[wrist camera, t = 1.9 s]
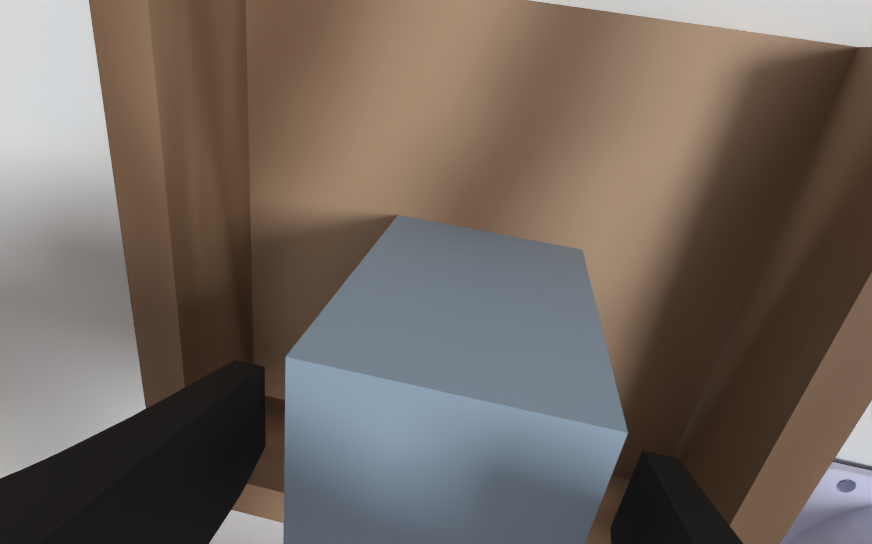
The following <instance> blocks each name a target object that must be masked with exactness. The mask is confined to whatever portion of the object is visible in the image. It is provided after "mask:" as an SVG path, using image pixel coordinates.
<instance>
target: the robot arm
mask: <svg viewBox="0 0 872 544" xmlns="http://www.w3.org/2000/svg"><path fill="white" fill-rule="evenodd" d="M265 446H266V428H265V367H264V366H260V365H255V364H251V363H246V362H242V361H237V360H235V361H233V362H231V363H229V364H227V365H225V366H223V367H221V368H219V369H217V370H215V371H214V372H212V373H210V374H208V375H206V376H205V377H203V378H201V379H199V380H197V381H196V382H194V383H192V384H190V385H188V386H187V387H185V388H183V389H181V390H179V391H178V392H176V393H174V394H172V395H170V396H169V397H167V398H165V399H163V400H161V401H159V402H158V403H156V404H154V405H152V406H150V407H148V408H146V409H145V410H143V411H141V412H139V413H137V414H135V415H134V416H132V417H130V418H128V419H126V420H124V421H122V422H120V423H118V424H116V425H114V426H112V427H110V428H108V429H106V430H104V431H102V432H100V433H98V434H96V435H94V436H92V437H90V438H88V439H86V440H84V441H82V442H80V443H78V444H76V445H74V446H72V447H70V448H68V449H66V450H64V451H62V452H60V453H58V454H55V455H53V456H51V457H49V458H47V459H45V460H42V461H40V462H38V463H36V464H33V465H31V466H29V467H27V468H24V469H22V470H20V471H18V472H15V473H13V474H10V475H8V476H6V477H3V478H1V479H0V544H209V542H210V541H211V539H212V538H213V536H214V535H215V533H216V532H217V530H218V529H219V527H220V526H221V524H222V523H223V521H224V520H225V518H226V517H227V515H228V514H229V512H230V511H231V509H232V508H233V506H234V505H235V503H236V502H237V500H238V498H239V497H240V495H241V494H242V492H243V490H244V488H245V486H246V484H247V482H248V480H249V478H250V477H251V475H252V473H253V471H254V469H255V467H256V465H257V463H258V461H259V459H260V457H261V455H262V453H263V451H264V448H265ZM845 479H846V480H845ZM842 480H845V481H843V482H840V481H842ZM610 531H611V544H743V542H742V541H741V540H740V539H739V537H738V536H737V535H736V533H735V532H734V531H733V530H732V528H731V527H730V526H729V524H728V523H727V522H726V520H725V519H724V518H723V517H722V515H721V514H720V513H719V511H718V510H717V509H716V507H715V506H714V505H713V504H712V502H711V501H710V500H709V498H708V497H707V496H706V494H705V493H704V492H703V490H702V489H701V488H700V486H699V485H698V484H697V483H696V481H695V480H694V479H693V477H692V476H691V475H690V473H689V472H688V471H687V470H686V468H685V467H684V466H683V465H682V463H681V462H680V461H679V460H678V458H675V457H670V456H666V455H661V454H657V453H652V452H648V451H643V450H642V453H641V455H640V458H639V460H638V462H637V465H636V467H635V470H634V472H633V474H632V477H631V479H630V482H629V484H628V487H627V489H626V491H625V494H624V496H623V499H622V501H621V503H620V506H619V508H618V511H617V513H616V515H615V518H614V520H613V523H612V525H611V527H610ZM780 544H872V471H871V470H867V469H862V468H858V467H853V466H848V465H844V464H839V463H835V462H832V463H831V465H830V466H829V468H828V470H827V471H826V473H825V474H824V476H823V477H822V479H821V481H820V482H819V484H818V485H817V487H816V488H815V490H814V492H813V493H812V495H811V496H810V498H809V499H808V501H807V503H806V504H805V506H804V507H803V509H802V510H801V512H800V514H799V515H798V517H797V518H796V520H795V521H794V523H793V525H792V526H791V528H790V529H789V531H788V532H787V534H786V536H785V537H784V539H783V540H782V542H781V543H780Z"/></svg>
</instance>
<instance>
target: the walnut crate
mask: <svg viewBox="0 0 872 544" xmlns="http://www.w3.org/2000/svg"><path fill="white" fill-rule="evenodd" d="M89 4H90V11H91V18H92V25H93V32H94V40H95V47H96V54H97V61H98V68H99V75H100V83H101V90H102V97H103V104H104V111H105V118H106V126H107V133H108V140H109V147H110V154H111V161H112V169H113V176H114V183H115V190H116V197H117V204H118V212H119V219H120V226H121V233H122V240H123V247H124V255H125V262H126V269H127V276H128V283H129V290H130V297H131V305H132V312H133V319H134V326H135V333H136V340H137V348H138V355H139V362H140V369H141V376H142V383H143V391H144V398H145V405H146V408H148V407H150V406H152V405H154V404H156V403H158V402H159V401H161V400H163V399H165V398H167V397H169V396H170V395H172V394H174V393H176V392H178V391H179V390H181V389H183V388H185V387H187V386H188V385H190V384H192V383H194V382H196V381H197V380H199V379H201V378H203V377H205V376H206V375H208V374H210V373H212V372H214V371H215V370H217V369H219V368H221V367H223V366H225V365H227V364H229V363H231V362H233V361H235V360H237V361H242V362H246V363H251V364H255V365H260V366H264V367H265V428H266V446H265V448H264V451H263V453H262V455H261V457H260V459H259V461H258V463H257V465H256V467H255V469H254V471H253V473H252V475H251V477H250V478H249V480H248V482H247V484H246V486H245V488H244V490H243V492H242V494H241V495H240V497H239V498H238V500H237V502H236V503H235V505H234V506H233V508H232V509H231V510H235V511H239V512H243V513H247V514H251V515H255V516H259V517H263V518H267V519H270V520H274V521H278V522H282V523H284V462H285V364H286V356H287V354H288V353H289V352H290V351H291V349H292V348H293V347H294V346H295V344H296V343H297V342H298V341H299V339H300V338H301V337H302V335H303V334H304V333H305V332H306V330H307V329H308V328H309V327H310V325H311V324H312V323H313V322H314V320H315V319H316V318H317V317H318V315H319V314H320V313H321V312H322V310H323V309H324V308H325V306H326V305H327V304H328V303H329V301H330V300H331V299H332V298H333V296H334V295H335V294H336V293H337V291H338V290H339V289H340V288H341V286H342V285H343V284H344V282H345V281H346V280H347V279H348V277H349V276H350V275H351V274H352V272H353V271H354V270H355V269H356V267H357V266H358V265H359V264H360V262H361V261H362V260H363V259H364V257H365V256H366V255H367V253H368V252H369V251H370V250H371V248H372V247H373V246H374V245H375V243H376V242H377V241H378V240H379V238H380V237H381V236H382V235H383V233H384V232H385V231H386V229H387V228H388V227H389V226H390V224H391V223H392V222H393V221H394V219H395V218H396V217H397V216H398V215H402V216H407V217H412V218H418V219H423V220H428V221H433V222H439V223H444V224H449V225H455V226H460V227H465V228H471V229H476V230H481V231H486V232H492V233H497V234H502V235H508V236H513V237H518V238H524V239H529V240H534V241H539V242H545V243H550V244H555V245H561V246H566V247H571V248H576V249H582V250H583V254H584V258H585V262H586V266H587V270H588V274H589V278H590V282H591V286H592V290H593V294H594V298H595V302H596V306H597V310H598V314H599V318H600V322H601V326H602V330H603V334H604V338H605V342H606V346H607V350H608V354H609V358H610V362H611V367H612V371H613V375H614V379H615V383H616V387H617V391H618V395H619V399H620V403H621V407H622V411H623V415H624V419H625V423H626V427H627V431H628V434H627V437H626V439H625V442H624V445H623V447H622V450H621V452H620V455H619V457H618V460H617V462H616V465H615V468H614V470H613V473H612V475H611V478H610V480H609V483H608V486H607V488H606V491H605V493H604V496H603V498H602V501H601V503H600V506H599V509H598V511H597V514H596V516H595V519H594V521H593V524H592V527H591V529H590V532H589V534H588V537H587V539H586V542H585V544H611V531H610V527H611V525H612V523H613V520H614V518H615V515H616V513H617V511H618V508H619V506H620V503H621V501H622V499H623V496H624V494H625V491H626V489H627V487H628V484H629V482H630V479H631V477H632V474H633V472H634V470H635V467H636V465H637V462H638V460H639V458H640V455H641V453H642V450H643V451H648V452H652V453H657V454H661V455H666V456H670V457H675V458H678V460H679V461H680V462H681V463H682V465H683V466H684V467H685V468H686V470H687V471H688V472H689V473H690V475H691V476H692V477H693V479H694V480H695V481H696V483H697V484H698V485H699V486H700V488H701V489H702V490H703V492H704V493H705V494H706V496H707V497H708V498H709V500H710V501H711V502H712V504H713V505H714V506H715V507H716V509H717V510H718V511H719V513H720V514H721V515H722V517H723V518H724V519H725V520H726V522H727V523H728V524H729V526H730V527H731V528H732V530H733V531H734V532H735V533H736V535H737V536H738V537H739V539H740V540H741V541H742V542H743V544H780V543H781V542H782V540H783V539H784V537H785V536H786V534H787V532H788V531H789V529H790V528H791V526H792V525H793V523H794V521H795V520H796V518H797V517H798V515H799V514H800V512H801V510H802V509H803V507H804V506H805V504H806V503H807V501H808V499H809V498H810V496H811V495H812V493H813V492H814V490H815V488H816V487H817V485H818V484H819V482H820V481H821V479H822V477H823V476H824V474H825V473H826V471H827V470H828V468H829V466H830V465H831V463H832V462H833V460H834V459H835V457H836V455H837V454H838V452H839V451H840V449H841V448H842V446H843V444H844V443H845V441H846V440H847V438H848V437H849V435H850V433H851V432H852V430H853V429H854V427H855V426H856V424H857V422H858V421H859V419H860V418H861V416H862V415H863V413H864V412H865V410H866V408H867V407H868V405H869V404H870V402H871V401H872V47H852V46H845V45H838V44H831V43H824V42H817V41H810V40H803V39H796V38H789V37H782V36H775V35H768V34H761V33H754V32H747V31H739V30H732V29H725V28H718V27H711V26H704V25H697V24H690V23H683V22H676V21H669V20H662V19H655V18H648V17H641V16H634V15H627V14H620V13H613V12H606V11H599V10H592V9H585V8H578V7H570V6H563V5H556V4H549V3H542V2H535V1H528V0H89Z"/></svg>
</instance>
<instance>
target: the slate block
mask: <svg viewBox="0 0 872 544" xmlns="http://www.w3.org/2000/svg"><path fill="white" fill-rule="evenodd" d="M627 434H628V431H627V427H626V423H625V419H624V415H623V411H622V407H621V403H620V399H619V395H618V391H617V387H616V383H615V379H614V375H613V371H612V367H611V362H610V358H609V354H608V350H607V346H606V342H605V338H604V334H603V330H602V326H601V322H600V318H599V314H598V310H597V306H596V302H595V298H594V294H593V290H592V286H591V282H590V278H589V274H588V270H587V266H586V262H585V258H584V254H583V250H582V249H576V248H571V247H566V246H561V245H555V244H550V243H545V242H539V241H534V240H529V239H524V238H518V237H513V236H508V235H502V234H497V233H492V232H486V231H481V230H476V229H471V228H465V227H460V226H455V225H449V224H444V223H439V222H433V221H428V220H423V219H418V218H412V217H407V216H402V215H398V216H397V217H396V218H395V219H394V221H393V222H392V223H391V224H390V226H389V227H388V228H387V229H386V231H385V232H384V233H383V235H382V236H381V237H380V238H379V240H378V241H377V242H376V243H375V245H374V246H373V247H372V248H371V250H370V251H369V252H368V253H367V255H366V256H365V257H364V259H363V260H362V261H361V262H360V264H359V265H358V266H357V267H356V269H355V270H354V271H353V272H352V274H351V275H350V276H349V277H348V279H347V280H346V281H345V282H344V284H343V285H342V286H341V288H340V289H339V290H338V291H337V293H336V294H335V295H334V296H333V298H332V299H331V300H330V301H329V303H328V304H327V305H326V306H325V308H324V309H323V310H322V312H321V313H320V314H319V315H318V317H317V318H316V319H315V320H314V322H313V323H312V324H311V325H310V327H309V328H308V329H307V330H306V332H305V333H304V334H303V335H302V337H301V338H300V339H299V341H298V342H297V343H296V344H295V346H294V347H293V348H292V349H291V351H290V352H289V353H288V354H287V356H286V364H285V462H284V544H585V542H586V539H587V537H588V534H589V532H590V529H591V527H592V524H593V521H594V519H595V516H596V514H597V511H598V509H599V506H600V503H601V501H602V498H603V496H604V493H605V491H606V488H607V486H608V483H609V480H610V478H611V475H612V473H613V470H614V468H615V465H616V462H617V460H618V457H619V455H620V452H621V450H622V447H623V445H624V442H625V439H626V437H627Z"/></svg>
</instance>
